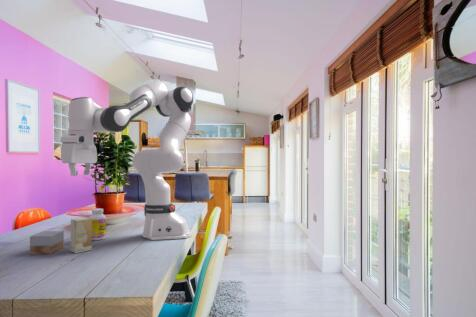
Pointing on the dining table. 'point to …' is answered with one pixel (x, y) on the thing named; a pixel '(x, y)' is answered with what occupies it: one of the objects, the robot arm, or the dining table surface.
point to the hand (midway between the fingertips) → (80, 175)
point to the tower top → (46, 238)
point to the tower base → (47, 248)
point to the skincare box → (81, 234)
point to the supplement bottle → (98, 224)
